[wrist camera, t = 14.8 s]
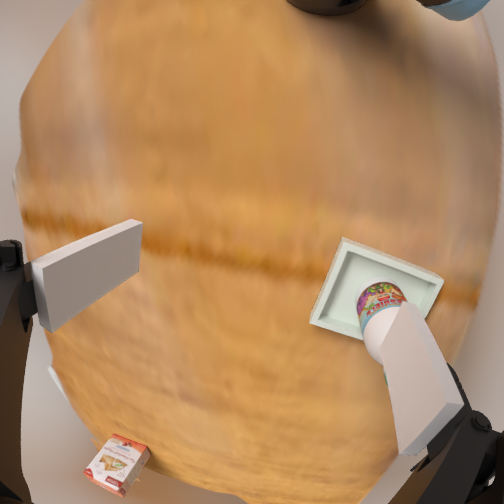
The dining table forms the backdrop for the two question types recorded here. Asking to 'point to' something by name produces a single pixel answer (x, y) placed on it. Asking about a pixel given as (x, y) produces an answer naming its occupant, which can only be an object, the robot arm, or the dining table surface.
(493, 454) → the robot arm
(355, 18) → the dining table surface
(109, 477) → the cracker box
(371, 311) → the milk bottle
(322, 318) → the tray
